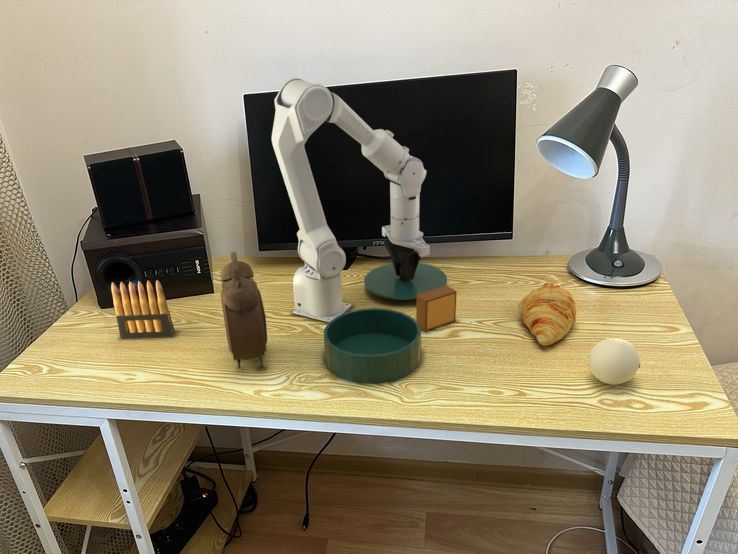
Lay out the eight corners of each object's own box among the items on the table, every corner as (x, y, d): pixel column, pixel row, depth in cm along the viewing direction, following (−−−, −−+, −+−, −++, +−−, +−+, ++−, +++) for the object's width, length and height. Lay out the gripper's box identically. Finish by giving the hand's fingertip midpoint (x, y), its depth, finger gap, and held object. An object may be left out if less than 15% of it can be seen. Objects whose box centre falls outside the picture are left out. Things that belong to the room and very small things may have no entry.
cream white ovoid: (639, 395, 98) (649, 355, 95) (588, 392, 100) (595, 352, 96) (628, 360, 107) (636, 322, 103) (580, 358, 108) (586, 320, 105)
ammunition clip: (120, 338, 127) (106, 284, 121) (123, 334, 129) (109, 280, 123) (172, 336, 126) (160, 281, 120) (175, 332, 128) (163, 277, 122)
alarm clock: (275, 374, 112) (261, 270, 101) (234, 381, 111) (216, 276, 100) (266, 334, 124) (253, 238, 114) (228, 340, 123) (212, 243, 113)
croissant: (559, 369, 112) (589, 336, 107) (509, 341, 112) (536, 308, 107) (558, 310, 129) (584, 280, 124) (514, 286, 129) (538, 255, 124)
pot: (313, 377, 110) (311, 350, 107) (340, 329, 123) (339, 304, 121) (410, 389, 105) (410, 361, 102) (427, 337, 118) (428, 312, 115)
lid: (355, 298, 131) (354, 279, 129) (374, 264, 145) (374, 246, 143) (440, 305, 126) (440, 285, 124) (452, 269, 140) (453, 250, 137)
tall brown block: (415, 325, 123) (416, 294, 119) (445, 315, 125) (446, 285, 122) (425, 331, 120) (426, 301, 117) (455, 321, 122) (457, 291, 119)
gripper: (443, 220, 123) (441, 284, 130) (401, 201, 135) (401, 261, 142) (412, 229, 121) (412, 293, 128) (372, 209, 132) (374, 268, 139)
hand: (404, 277), depth 135 cm, fingers closed on lid, 2 cm apart
